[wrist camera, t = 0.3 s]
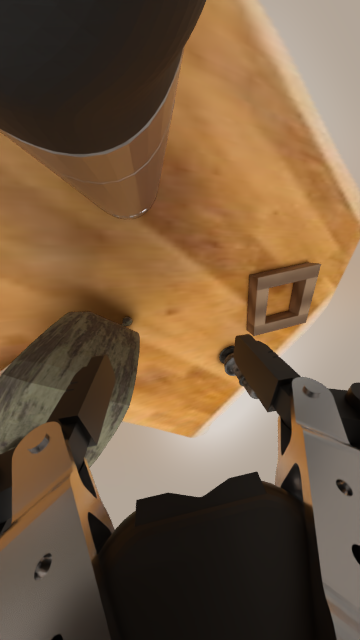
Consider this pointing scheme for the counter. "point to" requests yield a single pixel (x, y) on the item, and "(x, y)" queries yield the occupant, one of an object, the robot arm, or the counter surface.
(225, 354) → the chess piece
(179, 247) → the counter surface
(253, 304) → the socket block
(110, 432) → the tabletop clock
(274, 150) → the counter surface
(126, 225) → the counter surface
